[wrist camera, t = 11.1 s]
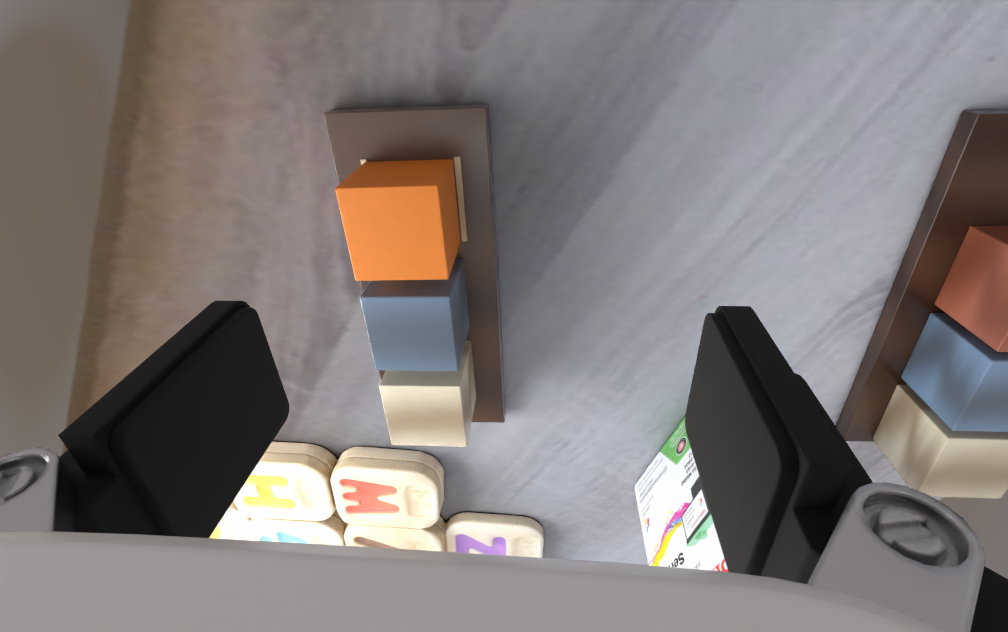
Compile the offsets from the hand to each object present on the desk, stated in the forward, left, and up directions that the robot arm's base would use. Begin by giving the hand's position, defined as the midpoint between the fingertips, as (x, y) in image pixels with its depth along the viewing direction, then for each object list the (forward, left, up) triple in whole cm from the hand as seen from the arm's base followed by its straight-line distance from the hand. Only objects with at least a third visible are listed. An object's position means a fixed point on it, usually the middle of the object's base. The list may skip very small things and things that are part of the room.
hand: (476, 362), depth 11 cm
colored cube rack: (+8, +25, -18) cm, 31 cm away
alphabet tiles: (+37, -15, -18) cm, 44 cm away
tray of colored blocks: (+7, -5, -18) cm, 20 cm away
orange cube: (+2, -6, -17) cm, 18 cm away
